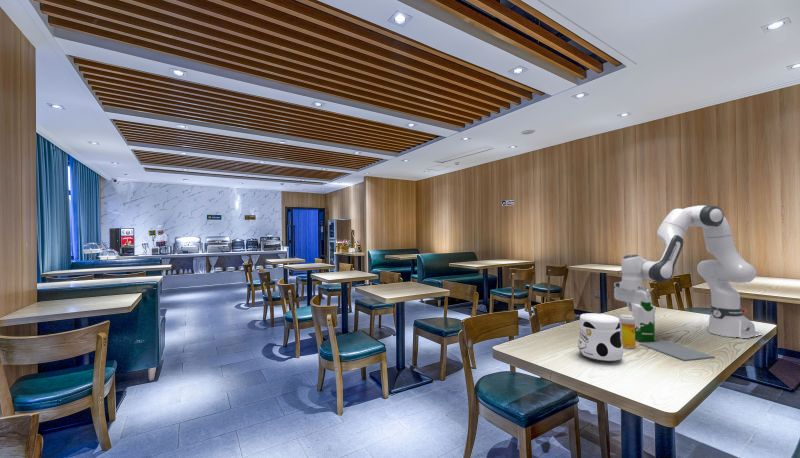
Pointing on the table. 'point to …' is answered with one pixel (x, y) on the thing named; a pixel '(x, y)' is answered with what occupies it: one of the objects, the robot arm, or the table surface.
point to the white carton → (644, 321)
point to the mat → (676, 350)
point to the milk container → (600, 337)
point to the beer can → (627, 331)
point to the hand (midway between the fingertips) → (632, 311)
